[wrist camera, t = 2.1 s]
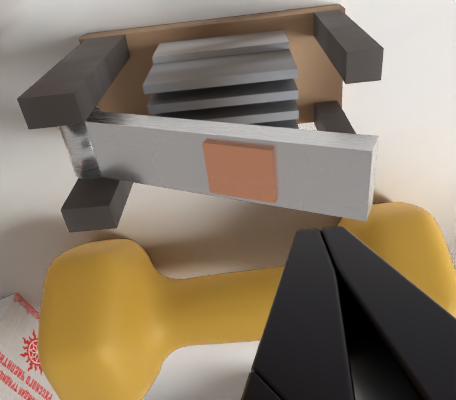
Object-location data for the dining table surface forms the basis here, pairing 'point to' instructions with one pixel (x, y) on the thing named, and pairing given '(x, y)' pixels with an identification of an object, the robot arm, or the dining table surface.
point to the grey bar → (230, 160)
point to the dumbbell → (192, 303)
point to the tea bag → (21, 353)
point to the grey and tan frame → (204, 82)
